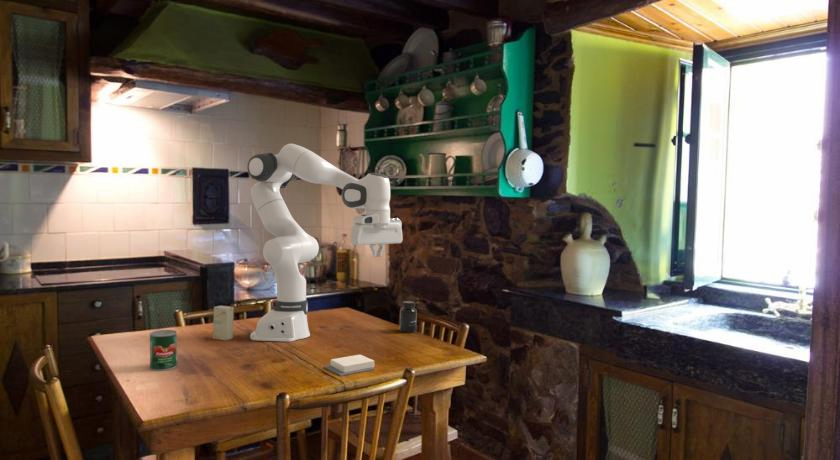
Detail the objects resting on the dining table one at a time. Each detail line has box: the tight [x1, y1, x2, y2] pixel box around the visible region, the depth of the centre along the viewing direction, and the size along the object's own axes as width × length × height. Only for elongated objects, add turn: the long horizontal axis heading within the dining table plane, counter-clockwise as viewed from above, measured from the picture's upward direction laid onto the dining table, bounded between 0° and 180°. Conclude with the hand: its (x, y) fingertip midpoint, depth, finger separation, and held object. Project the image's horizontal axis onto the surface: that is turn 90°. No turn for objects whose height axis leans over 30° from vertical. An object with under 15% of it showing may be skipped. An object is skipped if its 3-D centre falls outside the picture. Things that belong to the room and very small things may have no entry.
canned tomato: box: [149, 329, 178, 372], centre depth 189 cm, size 8×8×11 cm
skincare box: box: [212, 305, 235, 341], centre depth 226 cm, size 6×4×12 cm
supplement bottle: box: [399, 300, 418, 334], centre depth 243 cm, size 7×7×12 cm
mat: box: [323, 364, 375, 377], centre depth 191 cm, size 12×11×1 cm
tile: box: [330, 354, 376, 373], centre depth 192 cm, size 2×9×11 cm
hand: (377, 256), depth 216 cm, fingers closed
